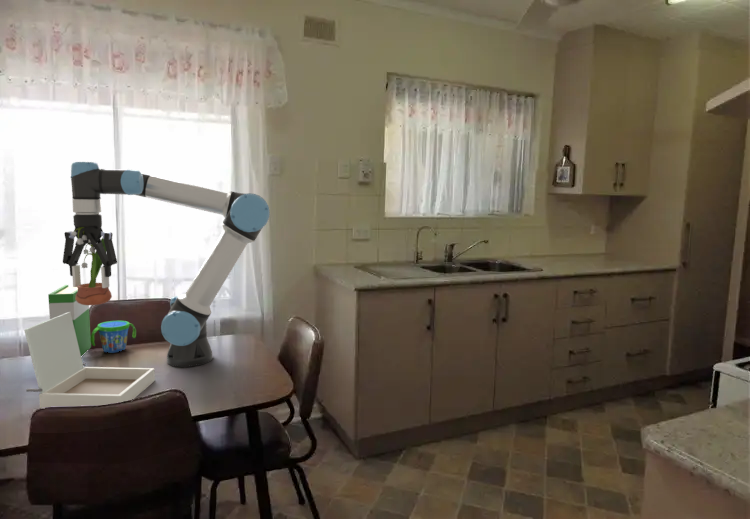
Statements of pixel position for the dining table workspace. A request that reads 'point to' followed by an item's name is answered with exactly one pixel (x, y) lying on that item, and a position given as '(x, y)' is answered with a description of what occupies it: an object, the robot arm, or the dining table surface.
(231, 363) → the dining table surface
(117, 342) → the snack cup
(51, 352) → the white open hinged box
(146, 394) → the dining table surface
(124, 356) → the dining table surface
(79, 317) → the hardback book
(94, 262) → the potted flower
